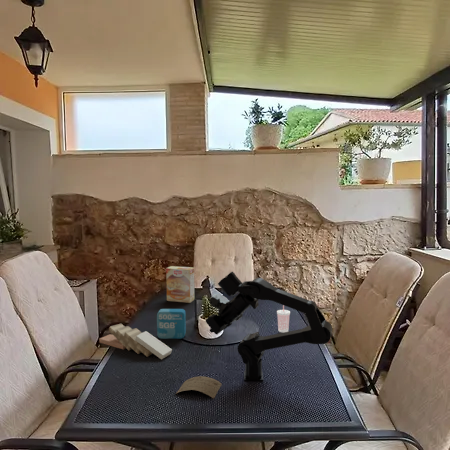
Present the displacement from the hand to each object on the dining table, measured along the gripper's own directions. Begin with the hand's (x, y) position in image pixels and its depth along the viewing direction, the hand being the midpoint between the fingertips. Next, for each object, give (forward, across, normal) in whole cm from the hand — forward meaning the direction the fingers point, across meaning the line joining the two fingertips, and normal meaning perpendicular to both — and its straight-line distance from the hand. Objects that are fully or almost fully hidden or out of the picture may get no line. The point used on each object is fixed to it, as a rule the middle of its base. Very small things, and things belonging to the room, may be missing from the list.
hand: (210, 331), depth 142 cm
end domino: (+37, -1, -19) cm, 42 cm away
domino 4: (+23, 0, -5) cm, 24 cm away
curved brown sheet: (+7, +15, +13) cm, 21 cm away
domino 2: (+31, 0, -13) cm, 33 cm away
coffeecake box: (+51, -68, -32) cm, 91 cm away
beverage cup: (+2, -48, +18) cm, 51 cm away
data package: (+31, -18, -12) cm, 38 cm away
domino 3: (+27, +1, -9) cm, 29 cm away
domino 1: (+34, -1, -16) cm, 38 cm away
